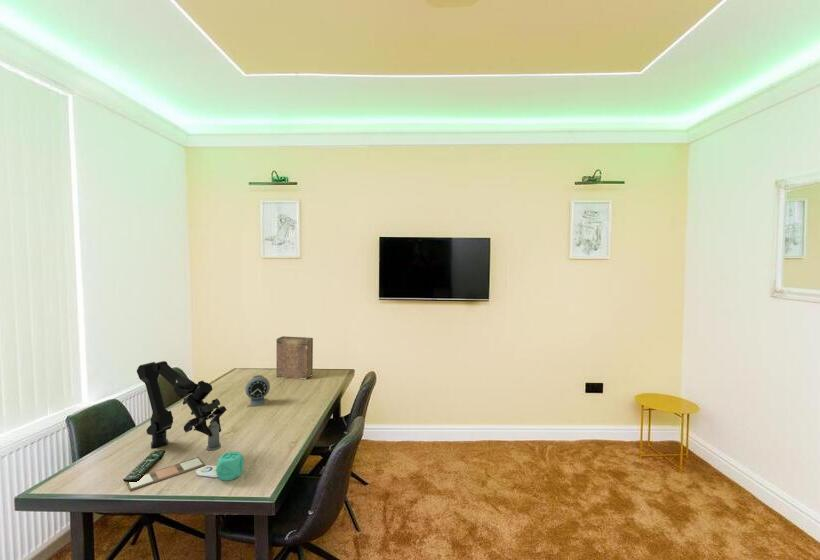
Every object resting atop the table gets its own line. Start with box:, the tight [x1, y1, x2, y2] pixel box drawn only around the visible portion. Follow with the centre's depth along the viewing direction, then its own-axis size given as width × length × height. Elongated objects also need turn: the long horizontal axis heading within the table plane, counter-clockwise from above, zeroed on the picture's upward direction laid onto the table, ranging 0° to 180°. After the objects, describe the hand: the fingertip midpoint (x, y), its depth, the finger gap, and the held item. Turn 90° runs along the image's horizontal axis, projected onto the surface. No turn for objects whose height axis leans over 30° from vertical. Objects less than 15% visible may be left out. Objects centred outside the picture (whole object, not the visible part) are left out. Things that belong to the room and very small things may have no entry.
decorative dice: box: [215, 451, 245, 482], centre depth 154 cm, size 8×8×8 cm
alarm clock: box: [244, 374, 271, 408], centre depth 232 cm, size 14×10×18 cm
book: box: [276, 335, 314, 380], centre depth 287 cm, size 25×9×30 cm, turn 81°
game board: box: [125, 456, 206, 492], centre depth 154 cm, size 9×26×1 cm, turn 136°
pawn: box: [206, 421, 222, 452], centre depth 167 cm, size 6×6×12 cm
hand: (216, 433), depth 166 cm, fingers closed on pawn, 4 cm apart
